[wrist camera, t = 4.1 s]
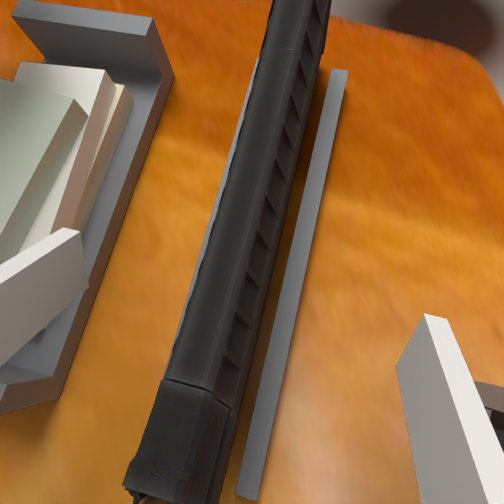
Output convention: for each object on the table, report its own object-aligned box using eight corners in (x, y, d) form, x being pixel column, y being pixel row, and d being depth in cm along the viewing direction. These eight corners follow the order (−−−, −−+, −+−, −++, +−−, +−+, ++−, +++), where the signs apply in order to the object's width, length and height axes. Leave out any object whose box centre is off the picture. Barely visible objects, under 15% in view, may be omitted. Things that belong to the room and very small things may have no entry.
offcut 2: (-37, 269, 20) (-63, 263, 19) (37, 79, 24) (21, 61, 22) (53, 285, 20) (34, 280, 18) (116, 87, 23) (105, 69, 21)
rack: (-85, 380, 22) (-187, 393, 17) (70, 43, 28) (28, -18, 23) (257, 488, 19) (251, 540, 14) (344, 86, 25) (360, 27, 21)
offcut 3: (-50, 302, 22) (-75, 300, 20) (49, 86, 25) (35, 70, 24) (46, 329, 21) (27, 328, 19) (133, 101, 25) (124, 85, 23)
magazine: (294, -111, 18) (-215, 696, 3) (353, -106, 18) (63, 826, 3) (274, 137, 33) (161, 497, 18) (306, 143, 33) (217, 515, 18)
